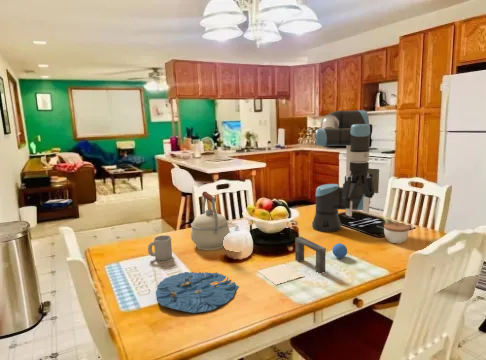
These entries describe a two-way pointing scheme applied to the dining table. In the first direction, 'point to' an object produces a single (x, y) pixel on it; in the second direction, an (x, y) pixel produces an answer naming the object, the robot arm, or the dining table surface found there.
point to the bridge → (319, 249)
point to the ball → (339, 250)
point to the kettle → (209, 227)
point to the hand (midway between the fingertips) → (357, 213)
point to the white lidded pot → (396, 232)
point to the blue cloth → (195, 291)
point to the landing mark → (278, 273)
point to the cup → (161, 247)
